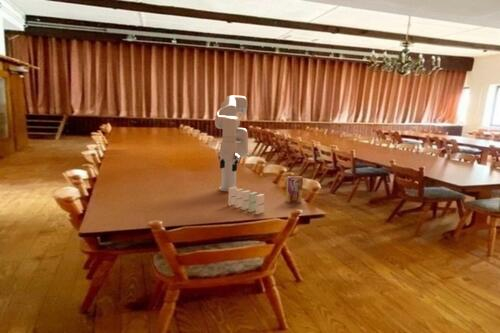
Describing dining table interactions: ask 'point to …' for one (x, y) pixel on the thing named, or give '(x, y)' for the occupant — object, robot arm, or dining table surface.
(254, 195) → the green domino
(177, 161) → the dining table surface
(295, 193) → the candy box
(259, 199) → the domino
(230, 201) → the domino
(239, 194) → the domino
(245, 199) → the domino
